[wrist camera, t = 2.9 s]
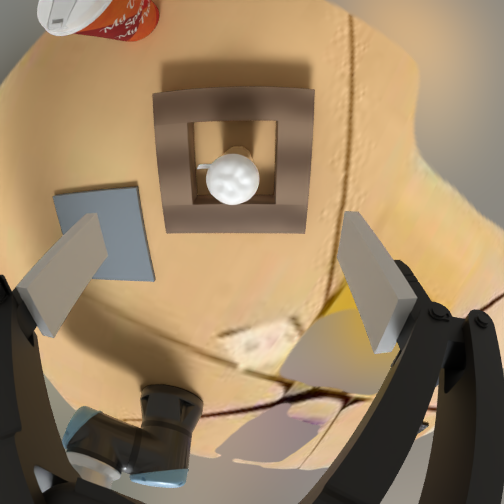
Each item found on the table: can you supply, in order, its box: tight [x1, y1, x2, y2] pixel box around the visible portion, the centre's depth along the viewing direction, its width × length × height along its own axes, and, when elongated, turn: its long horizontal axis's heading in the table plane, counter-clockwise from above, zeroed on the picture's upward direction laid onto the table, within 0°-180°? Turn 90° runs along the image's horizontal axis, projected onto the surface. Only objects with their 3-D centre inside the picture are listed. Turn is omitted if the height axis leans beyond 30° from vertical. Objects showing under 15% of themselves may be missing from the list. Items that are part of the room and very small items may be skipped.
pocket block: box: [153, 87, 315, 234], centre depth 29 cm, size 16×16×3 cm
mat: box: [53, 186, 155, 282], centre depth 35 cm, size 14×14×1 cm
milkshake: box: [197, 146, 259, 205], centre depth 26 cm, size 5×5×10 cm
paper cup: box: [37, 0, 159, 41], centre depth 15 cm, size 8×8×14 cm
